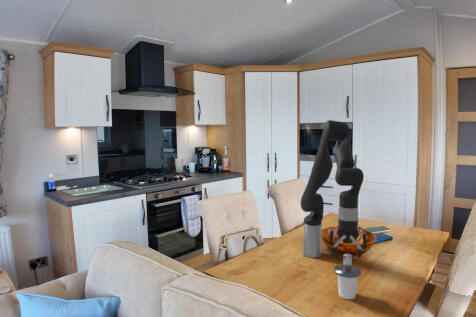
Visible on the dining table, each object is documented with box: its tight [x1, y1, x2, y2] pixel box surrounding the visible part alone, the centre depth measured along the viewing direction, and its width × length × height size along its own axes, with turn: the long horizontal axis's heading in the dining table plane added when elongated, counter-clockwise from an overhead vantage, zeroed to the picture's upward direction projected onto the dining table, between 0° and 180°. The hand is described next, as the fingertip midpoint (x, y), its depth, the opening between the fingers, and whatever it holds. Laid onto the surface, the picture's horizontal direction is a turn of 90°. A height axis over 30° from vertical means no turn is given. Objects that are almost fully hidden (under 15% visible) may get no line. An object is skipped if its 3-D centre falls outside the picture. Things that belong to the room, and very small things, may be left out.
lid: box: [333, 253, 362, 278], centre depth 130 cm, size 10×10×7 cm
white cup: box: [337, 275, 359, 300], centre depth 130 cm, size 8×8×10 cm
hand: (347, 256), depth 129 cm, fingers open, 8 cm apart
